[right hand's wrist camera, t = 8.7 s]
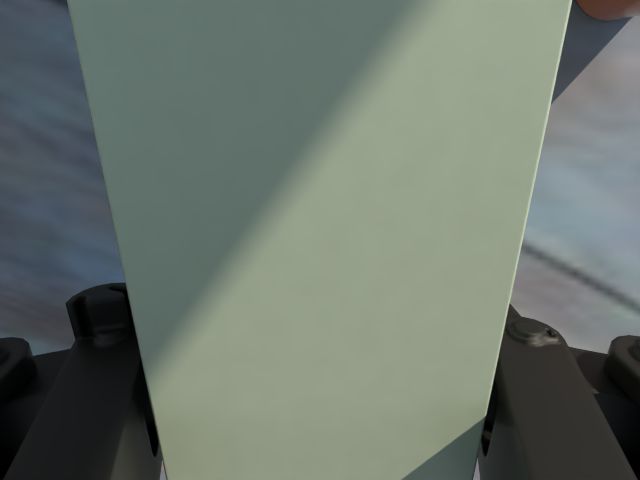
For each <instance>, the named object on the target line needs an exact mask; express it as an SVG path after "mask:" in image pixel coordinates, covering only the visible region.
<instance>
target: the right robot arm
mask: <svg viewBox="0 0 640 480" xmlns="http://www.w3.org/2000/svg"><path fill="white" fill-rule="evenodd" d="M66 307H67V311H68V314H69V318H70V321H71V325H72V329H73V332H74V336H75V339H76V340H75V342H74V344H73V346H72V348H71V349H67V350H62V351H57V352H52V353H46V354H41V355H36V356H33V355H32V352H31V349H30V346H29V343H28V342H27V341H25V340H24V339H22V338H14V337H9V338H0V480H160V473H161V465H162V455H161V450H160V446H159V441H158V436H157V431H156V426H155V422H154V417H153V412H152V407H151V402H150V397H149V393H148V388H147V383H146V378H145V373H144V369H143V364H142V359H141V354H140V349H139V345H138V340H137V335H136V330H135V325H134V320H133V316H132V311H131V306H130V301H129V296H128V292H127V287H126V283H110V284H104V285H99V286H95V287H92V288H89V289H87V290H84V291H82V292H80V293H78V294H76V295H75V296H73V297H72V298H71V299H70V300H69V301H67V302H66ZM478 464H479V472H480V480H640V336H631V335H627V336H619V337H617V338H615V339H614V340H612V342H611V345H610V348H609V351H608V354H603V353H598V352H593V351H587V350H582V349H577V348H572V347H568V345H567V343H566V341H565V339H564V338H563V337H562V336H561V335H560V333H559V332H558V331H556V330H555V329H553V328H552V327H550V326H548V325H547V324H544V323H542V322H539V321H537V320H534V319H530V318H525V317H521V316H520V315H519V314H518V312H517V311H516V310H515V309H514V308H513V307H512V305H511V304H510V303H509V308H508V312H507V317H506V322H505V327H504V332H503V337H502V341H501V346H500V351H499V356H498V361H497V365H496V370H495V375H494V380H493V385H492V390H491V394H490V399H489V404H488V409H487V414H486V419H485V423H484V428H483V433H482V438H481V443H480V447H479V452H478Z"/></svg>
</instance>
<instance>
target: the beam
mask: <svg viewBox="0 0 640 480" xmlns="http://www.w3.org/2000/svg"><path fill="white" fill-rule="evenodd" d="M67 3H68V8H69V13H70V17H71V22H72V27H73V32H74V37H75V41H76V46H77V51H78V56H79V61H80V66H81V70H82V75H83V80H84V85H85V90H86V94H87V99H88V104H89V109H90V114H91V118H92V123H93V128H94V133H95V138H96V143H97V147H98V152H99V157H100V162H101V167H102V171H103V176H104V181H105V186H106V191H107V195H108V200H109V205H110V210H111V215H112V219H113V224H114V229H115V234H116V239H117V244H118V248H119V253H120V258H121V263H122V268H123V272H124V277H125V282H126V287H127V292H128V296H129V301H130V306H131V311H132V316H133V320H134V325H135V330H136V335H137V340H138V345H139V349H140V354H141V359H142V364H143V369H144V373H145V378H146V383H147V388H148V393H149V397H150V402H151V407H152V412H153V417H154V422H155V426H156V431H157V436H158V441H159V446H160V450H161V455H162V460H163V465H164V470H165V474H166V479H167V480H473V476H474V472H475V467H476V462H477V457H478V452H479V447H480V443H481V438H482V433H483V428H484V423H485V419H486V414H487V409H488V404H489V399H490V394H491V390H492V385H493V380H494V375H495V370H496V365H497V361H498V356H499V351H500V346H501V341H502V337H503V332H504V327H505V322H506V317H507V312H508V308H509V303H510V298H511V293H512V288H513V283H514V279H515V274H516V269H517V264H518V259H519V255H520V250H521V245H522V240H523V235H524V230H525V226H526V221H527V216H528V211H529V206H530V201H531V197H532V192H533V187H534V182H535V177H536V173H537V168H538V163H539V158H540V153H541V148H542V144H543V139H544V134H545V129H546V124H547V119H548V115H549V110H550V105H551V100H552V95H553V91H554V86H555V81H556V76H557V71H558V66H559V62H560V57H561V52H562V47H563V42H564V37H565V33H566V28H567V23H568V18H569V13H570V9H571V4H572V0H67Z"/></svg>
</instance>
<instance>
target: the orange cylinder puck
mask: <svg viewBox="0 0 640 480" xmlns="http://www.w3.org/2000/svg"><path fill="white" fill-rule="evenodd" d="M576 1H577V3H578V5H579V6H580V8H581V9H582V10H583V11H584V12H585V13H586V14H588V15H589V16H591V17H593V18H595V19H598V20H602V21H614V20H619V19H624V18H628V17H633V16H638V15H640V0H576Z"/></svg>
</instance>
